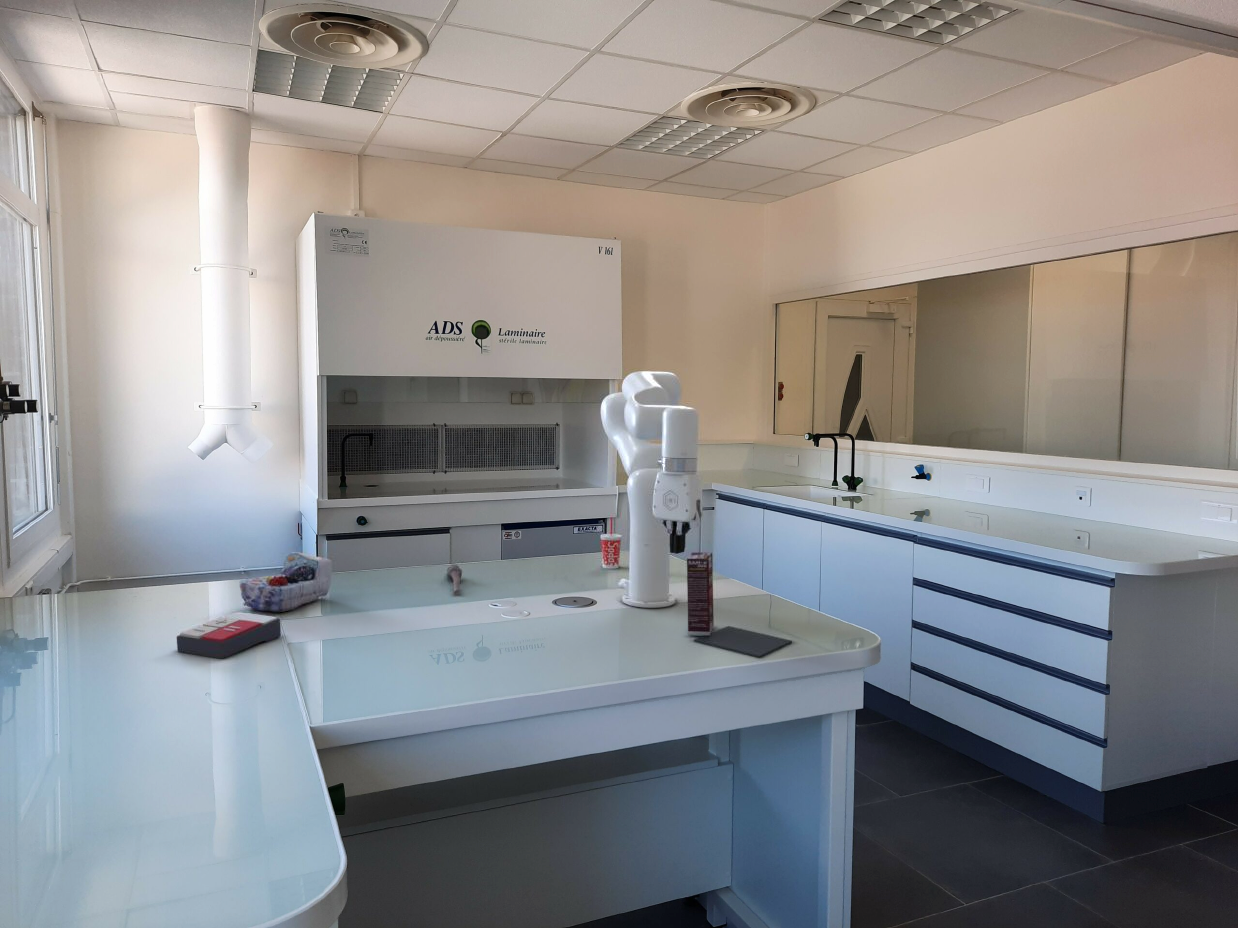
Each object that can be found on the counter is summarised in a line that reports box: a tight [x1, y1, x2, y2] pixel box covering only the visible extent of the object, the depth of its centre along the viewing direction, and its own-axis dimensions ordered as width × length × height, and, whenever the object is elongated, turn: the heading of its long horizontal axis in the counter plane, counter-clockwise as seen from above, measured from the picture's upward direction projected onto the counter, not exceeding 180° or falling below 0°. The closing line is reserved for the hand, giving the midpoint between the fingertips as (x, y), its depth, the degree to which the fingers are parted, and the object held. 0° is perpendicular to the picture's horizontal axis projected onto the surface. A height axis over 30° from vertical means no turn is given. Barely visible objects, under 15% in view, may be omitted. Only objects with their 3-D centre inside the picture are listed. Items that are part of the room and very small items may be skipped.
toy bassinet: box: [239, 551, 333, 613], centre depth 188 cm, size 13×11×20 cm
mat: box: [693, 625, 793, 658], centre depth 168 cm, size 15×13×1 cm
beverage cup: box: [600, 517, 623, 570], centre depth 234 cm, size 6×6×14 cm
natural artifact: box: [445, 564, 463, 596], centre depth 211 cm, size 4×23×4 cm
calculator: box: [176, 611, 282, 660], centre depth 160 cm, size 11×4×15 cm
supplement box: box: [686, 551, 715, 637], centre depth 174 cm, size 9×5×16 cm, turn 168°
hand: (677, 552), depth 177 cm, fingers closed
